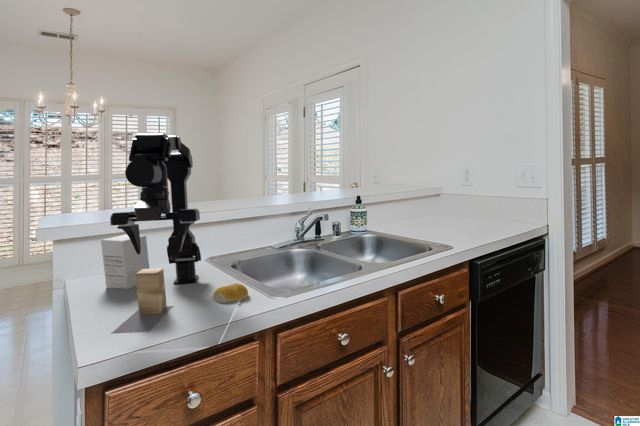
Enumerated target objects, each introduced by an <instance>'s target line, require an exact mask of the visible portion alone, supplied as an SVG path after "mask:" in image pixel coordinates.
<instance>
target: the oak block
mask: <svg viewBox="0 0 640 426" xmlns="http://www.w3.org/2000/svg"><path fill="white" fill-rule="evenodd" d="M136 285H137V287H136V293H137V294H136V295H137V307H138V310H139V314H156V313H161V312H162V311H163V310H164V309H165V308H166V307H167V306H168V305H167V296H166V286H165V285H166V284H165V273H164V268H163V267H161V268H160V267H159V268H149V269H142V270H140V271H139V272H137V273H136Z"/></svg>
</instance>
